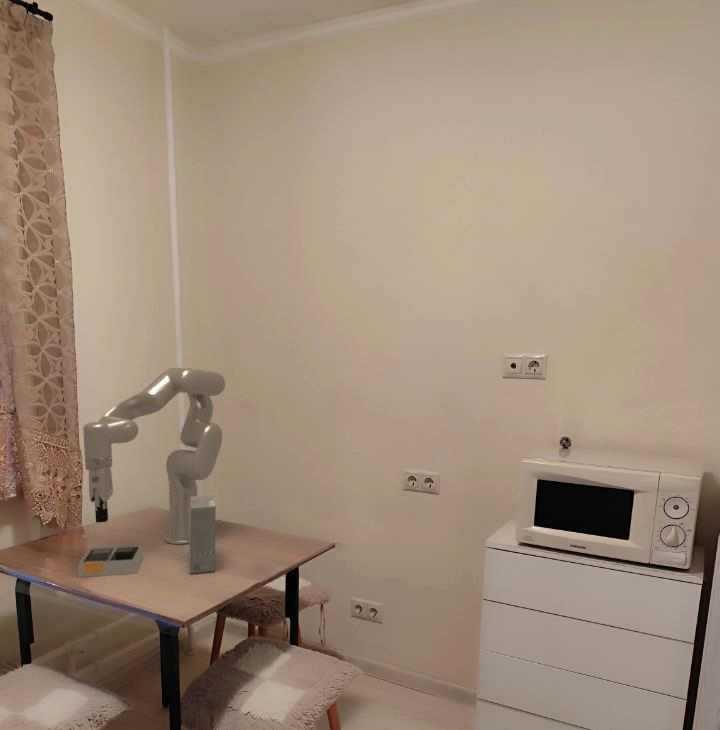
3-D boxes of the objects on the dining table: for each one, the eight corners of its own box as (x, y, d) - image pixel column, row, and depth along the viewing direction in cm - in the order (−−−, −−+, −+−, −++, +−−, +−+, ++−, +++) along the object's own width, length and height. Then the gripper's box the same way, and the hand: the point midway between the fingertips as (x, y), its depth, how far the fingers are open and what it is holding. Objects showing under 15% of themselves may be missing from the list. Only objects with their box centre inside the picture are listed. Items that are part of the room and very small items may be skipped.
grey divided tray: (142, 557, 185) (142, 541, 185) (135, 573, 172) (135, 556, 172) (89, 561, 182) (89, 544, 182) (77, 577, 169) (77, 559, 169)
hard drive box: (215, 572, 174) (215, 506, 173) (189, 575, 172) (189, 508, 171) (213, 554, 189) (213, 494, 188) (189, 556, 187) (189, 495, 186)
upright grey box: (111, 562, 179) (111, 548, 179) (108, 567, 175) (108, 552, 175) (95, 563, 178) (95, 548, 178) (91, 568, 174) (91, 553, 174)
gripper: (106, 467, 169) (109, 528, 171) (116, 456, 184) (119, 512, 185) (78, 469, 168) (82, 531, 169) (91, 458, 182) (94, 514, 184)
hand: (102, 521), depth 177 cm, fingers closed
